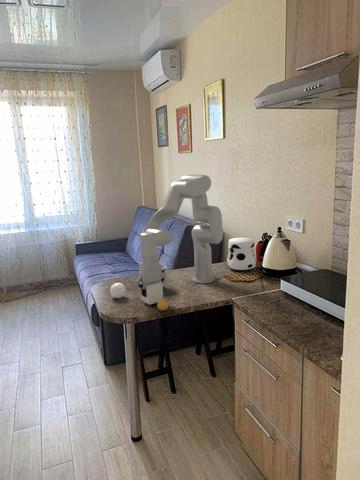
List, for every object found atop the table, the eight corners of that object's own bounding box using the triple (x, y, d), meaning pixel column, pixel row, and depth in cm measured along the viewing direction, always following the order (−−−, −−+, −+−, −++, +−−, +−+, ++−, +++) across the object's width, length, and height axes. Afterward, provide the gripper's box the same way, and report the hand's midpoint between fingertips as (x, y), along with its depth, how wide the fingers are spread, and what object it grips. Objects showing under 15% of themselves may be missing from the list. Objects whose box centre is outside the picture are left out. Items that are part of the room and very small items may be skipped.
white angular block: (155, 295, 181) (154, 279, 179) (163, 300, 175) (162, 283, 173) (141, 299, 177) (140, 282, 175) (149, 304, 171) (148, 286, 169)
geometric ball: (121, 301, 188) (130, 287, 189) (117, 301, 180) (126, 287, 181) (109, 293, 189) (118, 280, 190) (105, 293, 181) (113, 279, 182)
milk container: (261, 268, 225) (261, 239, 221) (244, 274, 213) (244, 244, 210) (238, 263, 237) (238, 235, 233) (221, 269, 226) (220, 240, 222)
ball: (171, 304, 165) (169, 311, 168) (165, 296, 169) (163, 303, 171) (161, 306, 163) (159, 314, 166) (156, 298, 166) (154, 306, 169)
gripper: (161, 253, 179) (163, 287, 183) (129, 260, 170) (132, 296, 174) (169, 256, 173) (171, 291, 177) (136, 264, 163) (139, 301, 167)
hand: (152, 293), depth 175 cm, fingers closed on white angular block, 7 cm apart
